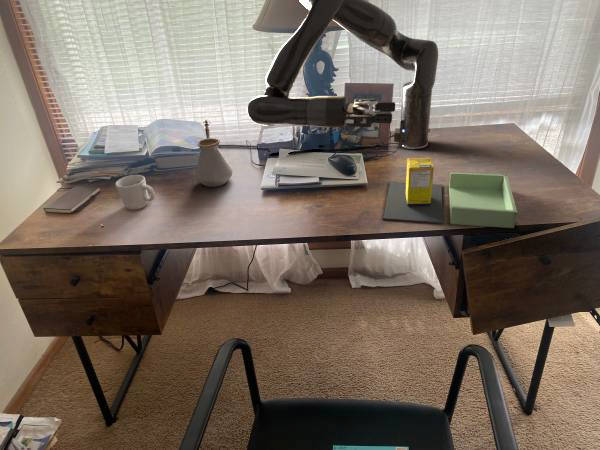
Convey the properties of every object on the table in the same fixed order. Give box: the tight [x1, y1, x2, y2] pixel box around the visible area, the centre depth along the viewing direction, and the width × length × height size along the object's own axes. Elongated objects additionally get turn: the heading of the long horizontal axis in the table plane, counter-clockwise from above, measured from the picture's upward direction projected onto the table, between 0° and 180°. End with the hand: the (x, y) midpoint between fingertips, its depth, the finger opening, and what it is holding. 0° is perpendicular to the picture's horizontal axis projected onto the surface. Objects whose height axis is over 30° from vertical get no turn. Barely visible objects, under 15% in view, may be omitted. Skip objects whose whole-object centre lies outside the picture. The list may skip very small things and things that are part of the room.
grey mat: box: [382, 182, 443, 224], centre depth 115 cm, size 14×20×1 cm
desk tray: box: [448, 172, 518, 229], centre depth 110 cm, size 14×20×4 cm
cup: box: [114, 174, 156, 211], centre depth 123 cm, size 11×8×8 cm
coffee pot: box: [194, 119, 234, 188], centre depth 136 cm, size 21×12×15 cm, turn 11°
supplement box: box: [405, 157, 435, 206], centre depth 112 cm, size 6×6×11 cm
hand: (393, 112), depth 104 cm, fingers open, 8 cm apart
